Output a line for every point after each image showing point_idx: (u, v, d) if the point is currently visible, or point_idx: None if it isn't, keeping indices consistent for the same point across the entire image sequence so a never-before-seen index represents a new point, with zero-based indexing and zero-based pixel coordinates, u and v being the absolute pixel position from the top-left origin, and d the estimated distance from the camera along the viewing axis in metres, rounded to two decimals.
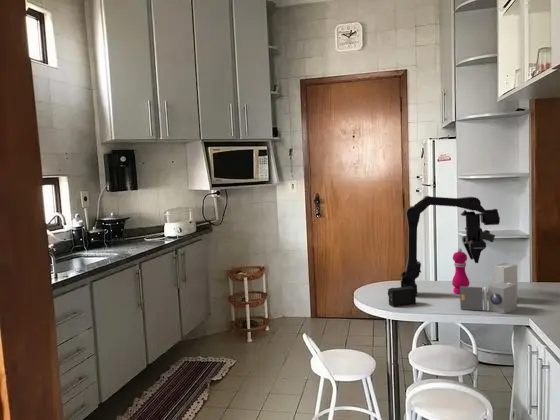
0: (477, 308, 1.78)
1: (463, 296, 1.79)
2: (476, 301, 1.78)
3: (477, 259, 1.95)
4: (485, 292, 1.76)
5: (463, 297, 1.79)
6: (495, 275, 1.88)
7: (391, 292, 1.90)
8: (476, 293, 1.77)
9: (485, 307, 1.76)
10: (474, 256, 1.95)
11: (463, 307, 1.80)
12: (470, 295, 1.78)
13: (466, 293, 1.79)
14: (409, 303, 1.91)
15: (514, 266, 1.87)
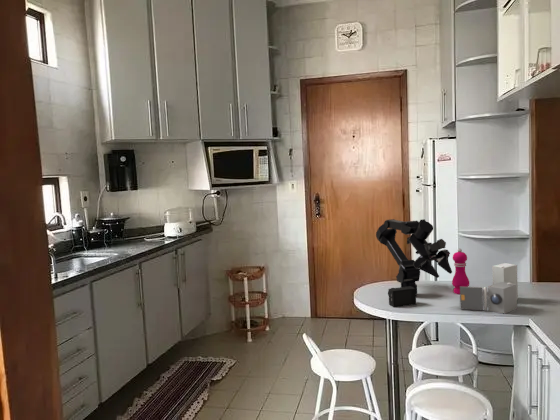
0: (477, 308, 1.78)
1: (463, 296, 1.79)
2: (476, 301, 1.78)
3: (435, 273, 1.85)
4: (485, 292, 1.76)
5: (463, 297, 1.79)
6: (495, 275, 1.88)
7: (391, 292, 1.90)
8: (476, 293, 1.77)
9: (485, 307, 1.76)
10: (430, 273, 1.86)
11: (463, 307, 1.80)
12: (470, 295, 1.78)
13: (466, 293, 1.79)
14: (409, 303, 1.90)
15: (514, 266, 1.87)
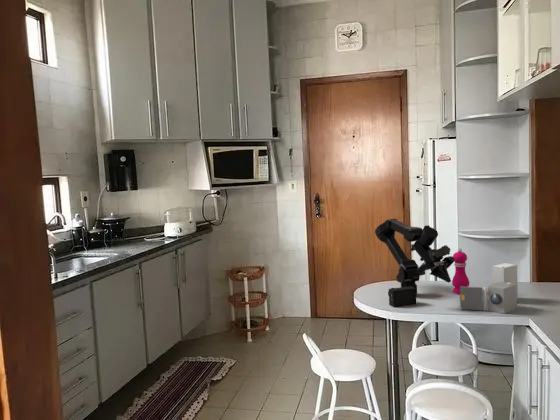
0: (477, 308, 1.78)
1: (463, 296, 1.79)
2: (476, 301, 1.78)
3: (446, 278, 1.85)
4: (485, 292, 1.76)
5: (463, 297, 1.79)
6: (495, 275, 1.88)
7: (392, 292, 1.89)
8: (476, 293, 1.77)
9: (485, 307, 1.76)
10: (441, 277, 1.86)
11: (463, 307, 1.80)
12: (470, 295, 1.78)
13: (466, 293, 1.79)
14: (409, 303, 1.90)
15: (514, 266, 1.87)
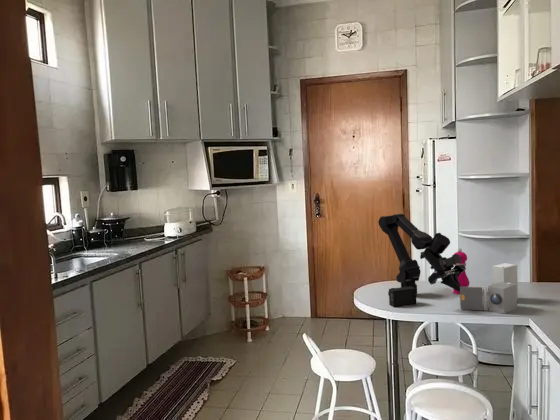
0: (477, 308, 1.78)
1: (463, 296, 1.79)
2: (476, 301, 1.78)
3: (457, 287, 1.81)
4: (485, 292, 1.76)
5: (463, 297, 1.79)
6: (495, 275, 1.88)
7: (392, 292, 1.89)
8: (476, 293, 1.77)
9: (485, 307, 1.76)
10: (452, 286, 1.83)
11: (463, 307, 1.80)
12: (470, 295, 1.78)
13: (466, 293, 1.79)
14: (410, 303, 1.90)
15: (514, 266, 1.87)
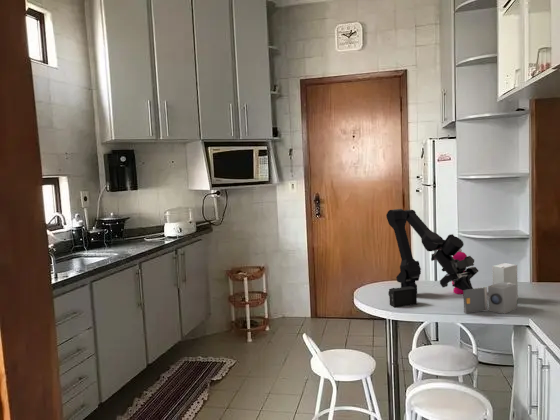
0: (480, 310, 1.76)
1: (469, 299, 1.74)
2: (479, 303, 1.76)
3: None
4: (486, 292, 1.76)
5: (469, 300, 1.74)
6: (495, 275, 1.88)
7: (392, 292, 1.89)
8: (479, 294, 1.75)
9: (486, 307, 1.76)
10: (464, 289, 1.78)
11: (468, 311, 1.75)
12: (473, 298, 1.75)
13: (470, 296, 1.75)
14: (410, 303, 1.90)
15: (514, 266, 1.87)
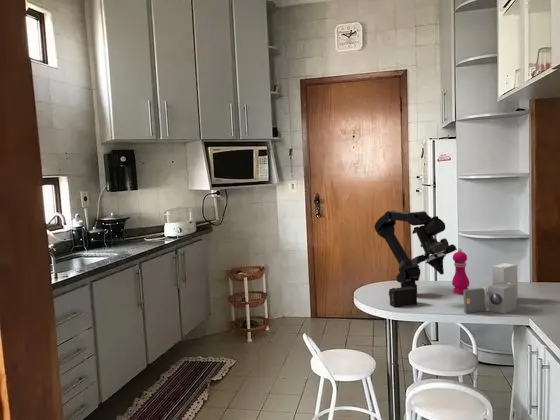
0: (480, 310, 1.76)
1: (469, 299, 1.74)
2: (479, 303, 1.76)
3: (439, 271, 1.89)
4: (486, 292, 1.76)
5: (469, 300, 1.74)
6: (495, 275, 1.88)
7: (392, 292, 1.89)
8: (479, 294, 1.75)
9: (486, 307, 1.76)
10: (435, 268, 1.91)
11: (468, 311, 1.75)
12: (473, 298, 1.75)
13: (470, 296, 1.75)
14: (410, 303, 1.90)
15: (514, 266, 1.87)
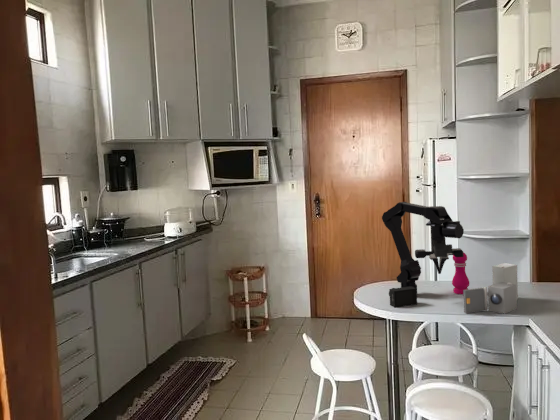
0: (480, 310, 1.76)
1: (469, 299, 1.74)
2: (479, 303, 1.76)
3: (437, 269, 1.92)
4: (486, 292, 1.76)
5: (469, 300, 1.74)
6: (495, 275, 1.88)
7: (392, 292, 1.89)
8: (479, 294, 1.75)
9: (486, 307, 1.76)
10: (435, 265, 1.93)
11: (468, 311, 1.75)
12: (473, 298, 1.75)
13: (470, 296, 1.75)
14: (410, 303, 1.90)
15: (514, 266, 1.87)
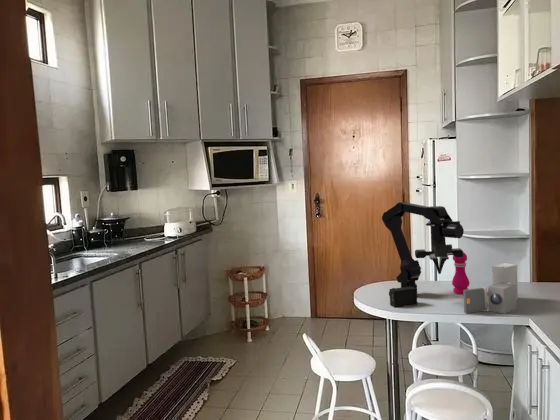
0: (480, 310, 1.76)
1: (469, 299, 1.74)
2: (479, 303, 1.76)
3: (437, 269, 1.92)
4: (486, 292, 1.76)
5: (469, 300, 1.74)
6: (495, 275, 1.88)
7: (393, 292, 1.89)
8: (479, 294, 1.75)
9: (486, 307, 1.76)
10: (435, 265, 1.93)
11: (468, 311, 1.75)
12: (473, 298, 1.75)
13: (470, 296, 1.75)
14: (410, 303, 1.90)
15: (514, 266, 1.87)
